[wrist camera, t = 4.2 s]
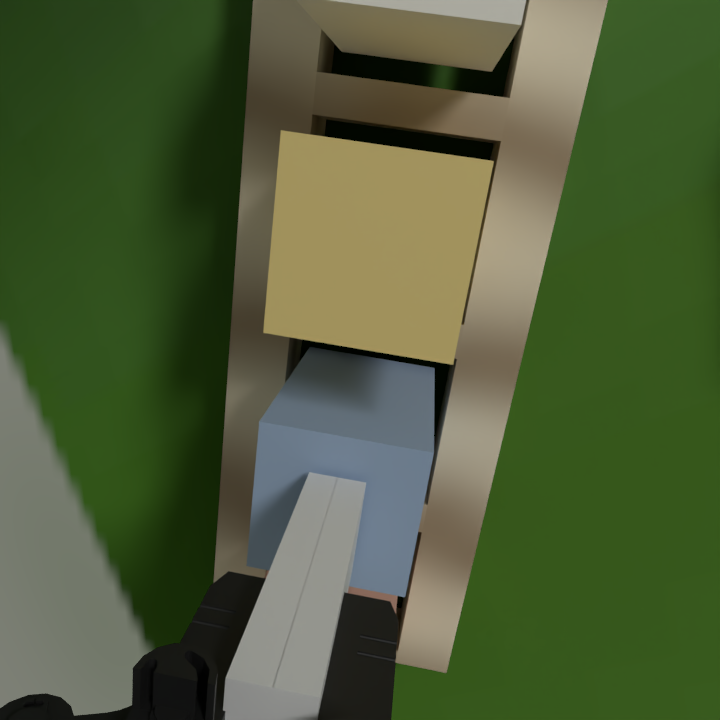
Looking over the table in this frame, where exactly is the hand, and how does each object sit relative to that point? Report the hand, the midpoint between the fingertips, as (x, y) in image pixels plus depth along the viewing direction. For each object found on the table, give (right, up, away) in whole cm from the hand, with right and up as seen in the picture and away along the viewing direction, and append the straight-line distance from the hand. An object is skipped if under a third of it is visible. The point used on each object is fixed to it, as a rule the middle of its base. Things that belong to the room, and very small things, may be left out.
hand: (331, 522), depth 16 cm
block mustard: (+2, +9, +4) cm, 10 cm away
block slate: (+1, +2, +6) cm, 7 cm away
